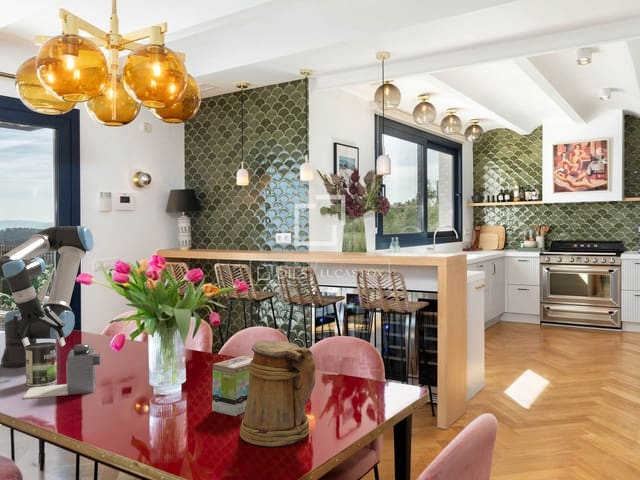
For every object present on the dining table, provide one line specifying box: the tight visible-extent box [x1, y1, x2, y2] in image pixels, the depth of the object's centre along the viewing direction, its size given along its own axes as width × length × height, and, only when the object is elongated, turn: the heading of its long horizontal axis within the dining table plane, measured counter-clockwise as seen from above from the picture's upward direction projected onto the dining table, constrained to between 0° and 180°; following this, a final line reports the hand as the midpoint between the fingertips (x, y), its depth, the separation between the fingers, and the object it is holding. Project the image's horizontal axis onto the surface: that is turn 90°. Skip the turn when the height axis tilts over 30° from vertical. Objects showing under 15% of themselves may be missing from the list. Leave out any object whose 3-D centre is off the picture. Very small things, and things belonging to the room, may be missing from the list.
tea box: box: [211, 355, 254, 417], centre depth 169 cm, size 15×10×15 cm, turn 148°
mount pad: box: [23, 383, 68, 400], centre depth 187 cm, size 12×14×1 cm
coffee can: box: [25, 341, 58, 387], centre depth 199 cm, size 10×10×14 cm
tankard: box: [239, 339, 317, 448], centre depth 144 cm, size 18×24×25 cm
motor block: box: [65, 343, 101, 396], centre depth 191 cm, size 12×10×15 cm
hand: (46, 349), depth 209 cm, fingers open, 13 cm apart
